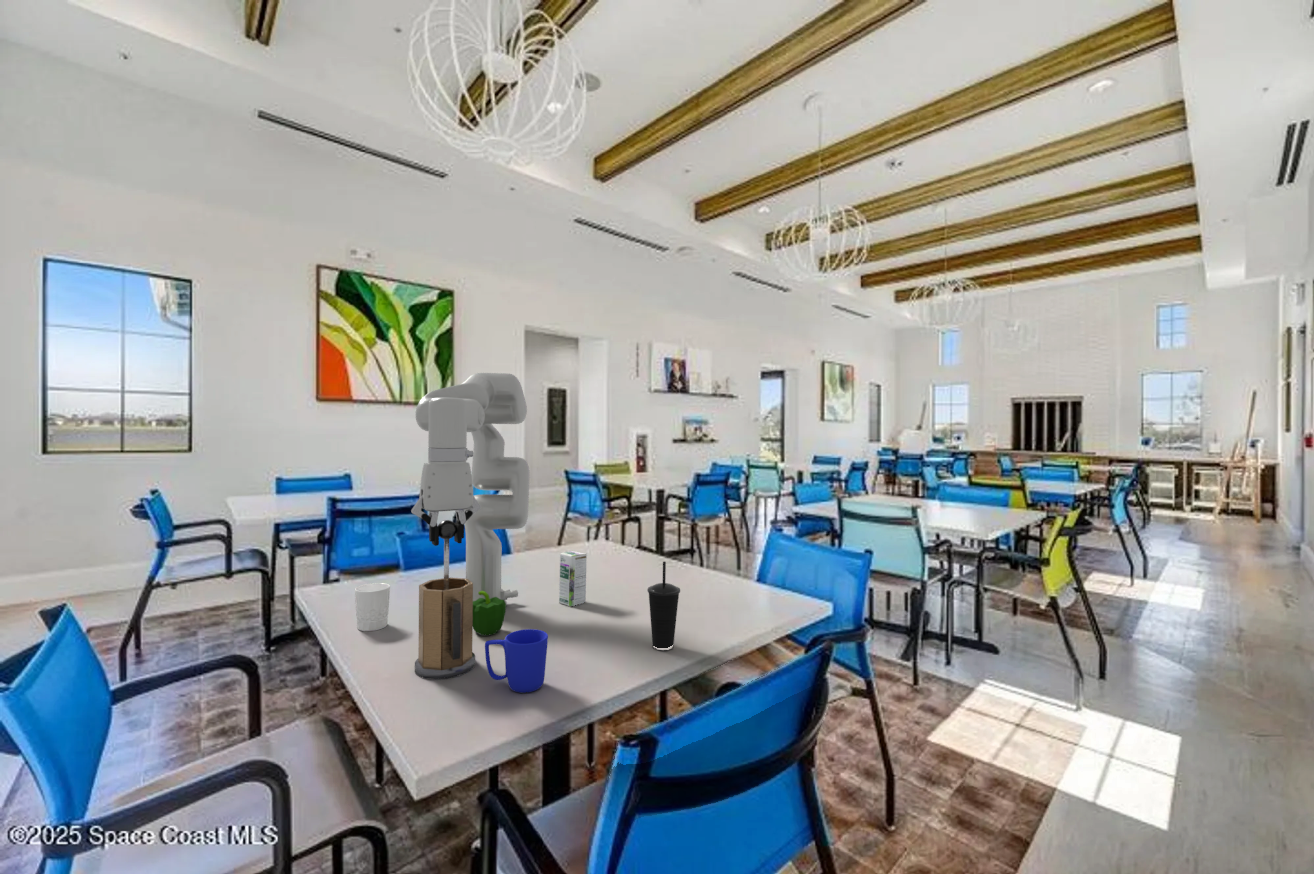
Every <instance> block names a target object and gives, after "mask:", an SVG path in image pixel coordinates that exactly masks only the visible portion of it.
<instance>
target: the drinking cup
mask: <svg viewBox="0 0 1314 874" xmlns="http://www.w3.org/2000/svg"><path fill="white" fill-rule="evenodd" d="M666 564H667V563H666V561H662V582H659V583H656V584H653V585H650V586H649V587H648V588H647V593H648V603H649V616H650V627H651V628H650V629H651V641H652V642H651V643H652V644H653V645H652V647H653V646H655V647H657V648H668V647H670V646H672V645H673V644H674V642H675V634H676V625H677V615H678V614H677V613H678V605H679V596H680V593H681V588H680V587H679V586H676V585H674V584H673V583H672V584H671V583H667V582H666V579H667V578H666V574H667V573H666V572H667V568H666V566H667V565H666ZM673 646H674V645H673Z"/></svg>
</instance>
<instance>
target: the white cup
mask: <svg viewBox="0 0 1314 874" xmlns="http://www.w3.org/2000/svg"><path fill="white" fill-rule="evenodd" d="M390 591H391V584H388V583H385V582H374V583H373V582H372V583H366V584H361V585H359V586H357V587H355V588H354V597H355V598H354V599H355V617H356V628H357V630H358V631H361V632H373V631H378V630H381V629H384V628H386V627H387V625H388V621H389V619H388V618H389V607H390V597H391V596H390V593H391V592H390Z"/></svg>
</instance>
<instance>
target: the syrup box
mask: <svg viewBox="0 0 1314 874" xmlns="http://www.w3.org/2000/svg"><path fill="white" fill-rule="evenodd" d="M587 556H588V555H587V553H585V552H584V553H582V552H579V551H575V550H569V551H565V552H561V553H559V584H558V585H559V586H558V587H559V588H558V590H559V591H558V604H562V605H564V606H568V607H570V606H573V607H575V605H576V606H578V605H577V604H579V605H582V604H585V603H586V599H587V598H586V597H587V596H586V595H587V594H586V593H587V591H586V590H587V562H588V561H587ZM584 602H585V603H584ZM581 603H582V604H581Z"/></svg>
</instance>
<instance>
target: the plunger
mask: <svg viewBox="0 0 1314 874" xmlns="http://www.w3.org/2000/svg"><path fill="white" fill-rule="evenodd" d="M455 523H456V522H454V521H452V520H450V519H447V520H446V519H444V520H442V521H440V523H438V524H437V526H438V527H439V539H440V538H441V539H443V542H444V543H443V578H444V590H449V578H450V539H452V538H454V536H455V534H456V532H457V527H456V524H455Z"/></svg>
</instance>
